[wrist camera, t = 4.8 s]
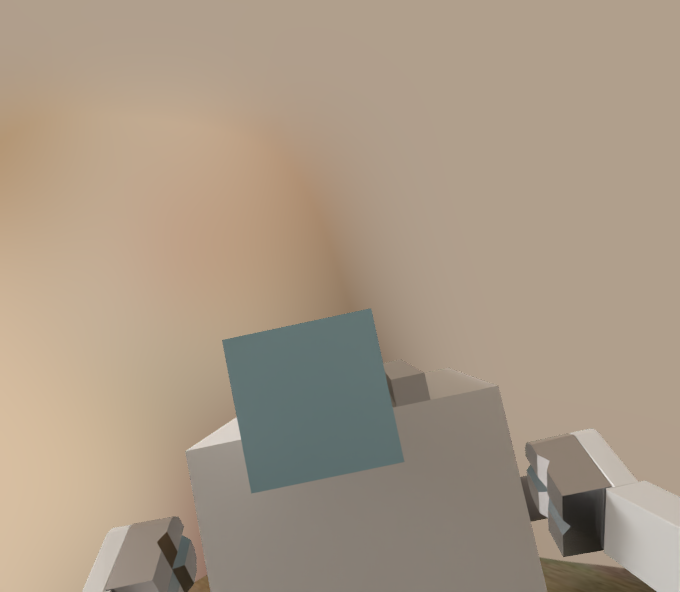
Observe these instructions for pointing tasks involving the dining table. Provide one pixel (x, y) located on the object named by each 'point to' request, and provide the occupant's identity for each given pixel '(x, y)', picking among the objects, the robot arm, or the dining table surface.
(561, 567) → the dining table surface
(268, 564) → the housing
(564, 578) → the dining table surface
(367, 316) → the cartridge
